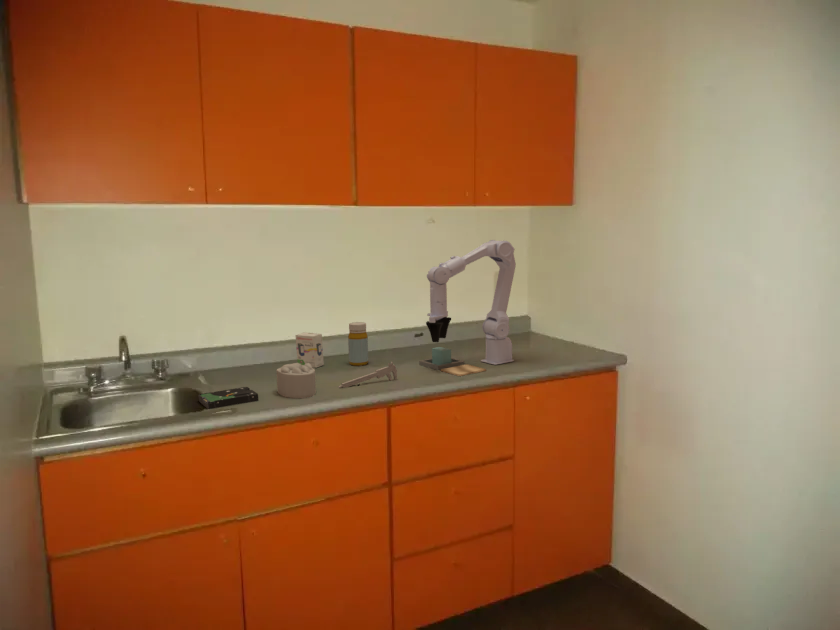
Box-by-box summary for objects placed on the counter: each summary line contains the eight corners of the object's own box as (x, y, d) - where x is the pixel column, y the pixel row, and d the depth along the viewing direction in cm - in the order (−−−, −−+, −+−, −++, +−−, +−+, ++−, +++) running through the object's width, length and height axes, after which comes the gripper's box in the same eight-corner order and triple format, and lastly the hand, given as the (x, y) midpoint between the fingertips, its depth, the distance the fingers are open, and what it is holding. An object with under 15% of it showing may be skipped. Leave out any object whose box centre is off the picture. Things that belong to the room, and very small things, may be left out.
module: (440, 363, 235) (440, 346, 235) (451, 365, 231) (451, 349, 230) (432, 364, 233) (431, 348, 232) (442, 367, 228) (442, 350, 227)
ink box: (324, 365, 234) (323, 333, 233) (315, 368, 230) (314, 335, 228) (304, 363, 238) (303, 331, 236) (296, 366, 233) (294, 334, 232)
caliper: (395, 379, 213) (394, 361, 212) (396, 380, 212) (396, 361, 211) (337, 388, 203) (337, 368, 202) (339, 389, 202) (338, 369, 201)
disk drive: (247, 395, 198) (198, 402, 190) (247, 386, 198) (197, 393, 190) (259, 402, 190) (208, 411, 181) (258, 393, 189) (207, 401, 181)
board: (467, 365, 230) (467, 364, 230) (486, 370, 222) (486, 369, 222) (440, 370, 223) (440, 369, 223) (459, 376, 215) (459, 374, 215)
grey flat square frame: (445, 360, 240) (445, 356, 240) (464, 365, 231) (464, 361, 231) (419, 364, 233) (419, 360, 233) (438, 370, 224) (438, 365, 224)
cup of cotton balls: (304, 386, 206) (303, 359, 204) (323, 394, 195) (322, 366, 194) (273, 391, 200) (272, 364, 198) (291, 400, 189) (290, 371, 188)
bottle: (354, 367, 231) (353, 325, 229) (345, 363, 237) (344, 323, 234) (371, 364, 235) (370, 323, 232) (362, 361, 240) (361, 321, 238)
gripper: (434, 298, 231) (435, 335, 233) (420, 303, 218) (421, 343, 220) (453, 298, 229) (453, 336, 231) (440, 304, 215) (440, 344, 217)
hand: (439, 340), depth 225 cm, fingers open, 7 cm apart
